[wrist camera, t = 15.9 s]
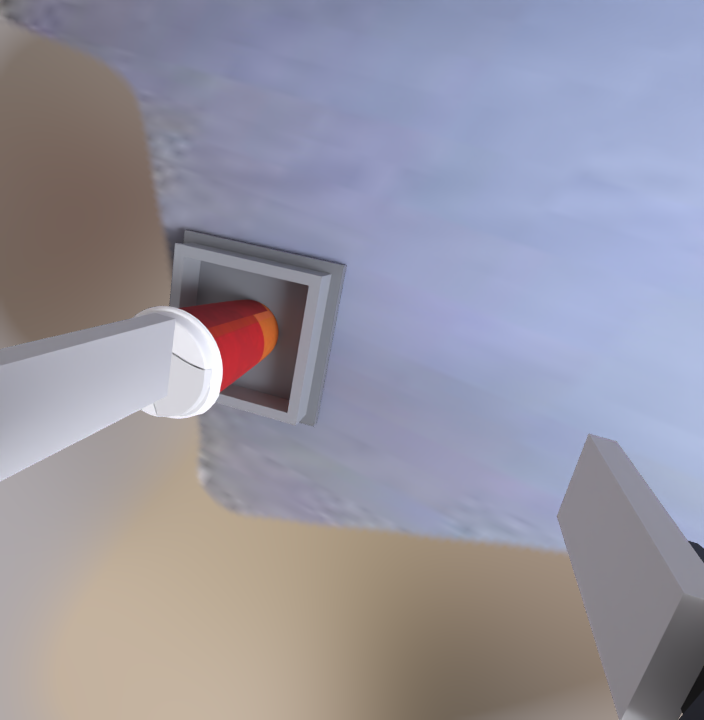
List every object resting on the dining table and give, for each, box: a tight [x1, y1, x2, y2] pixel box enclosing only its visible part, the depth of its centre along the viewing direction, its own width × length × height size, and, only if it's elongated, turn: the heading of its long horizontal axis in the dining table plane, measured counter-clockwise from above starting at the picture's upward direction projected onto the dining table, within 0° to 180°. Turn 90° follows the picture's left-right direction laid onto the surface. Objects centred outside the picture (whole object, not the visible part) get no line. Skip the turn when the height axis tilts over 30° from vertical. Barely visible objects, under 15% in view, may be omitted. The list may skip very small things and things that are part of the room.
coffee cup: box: [133, 300, 279, 418], centre depth 41 cm, size 8×8×15 cm
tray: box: [169, 230, 347, 426], centre depth 47 cm, size 16×16×4 cm
